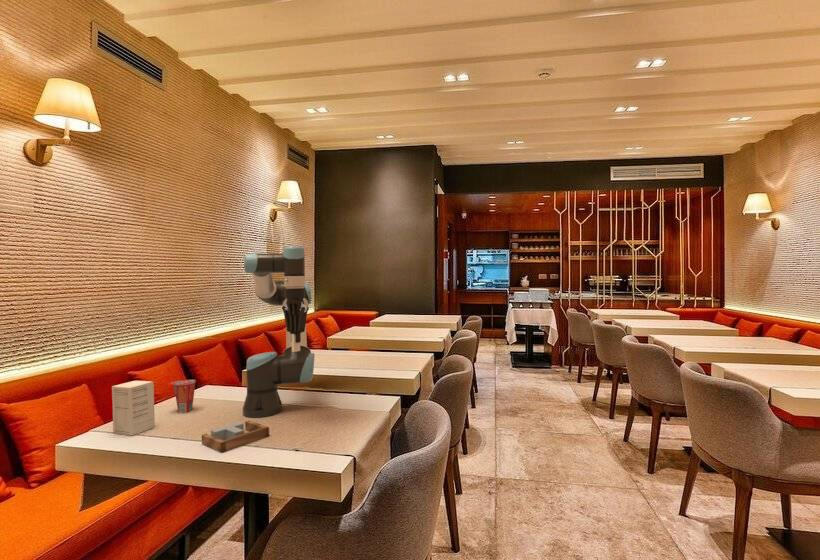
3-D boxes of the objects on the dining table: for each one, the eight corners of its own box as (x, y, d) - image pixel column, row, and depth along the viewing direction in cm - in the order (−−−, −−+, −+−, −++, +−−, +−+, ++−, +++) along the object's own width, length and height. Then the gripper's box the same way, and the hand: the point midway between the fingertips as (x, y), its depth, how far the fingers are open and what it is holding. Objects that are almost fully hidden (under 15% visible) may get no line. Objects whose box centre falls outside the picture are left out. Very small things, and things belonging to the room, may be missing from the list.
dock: (201, 444, 138) (201, 434, 138) (249, 428, 151) (249, 420, 151) (221, 452, 130) (221, 443, 130) (269, 435, 144) (269, 427, 144)
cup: (192, 406, 180) (192, 378, 180) (199, 410, 174) (199, 381, 174) (168, 411, 173) (167, 382, 173) (174, 416, 167) (173, 385, 167)
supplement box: (155, 427, 155) (154, 381, 155) (131, 436, 146) (130, 387, 146) (136, 424, 158) (135, 379, 158) (112, 433, 149) (111, 385, 149)
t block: (211, 440, 140) (210, 430, 140) (238, 432, 148) (238, 422, 148) (225, 447, 135) (225, 436, 135) (253, 437, 143) (253, 427, 143)
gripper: (275, 288, 159) (276, 351, 159) (297, 288, 151) (299, 354, 151) (292, 287, 165) (293, 348, 165) (314, 287, 157) (315, 351, 157)
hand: (296, 351), depth 158 cm, fingers closed
